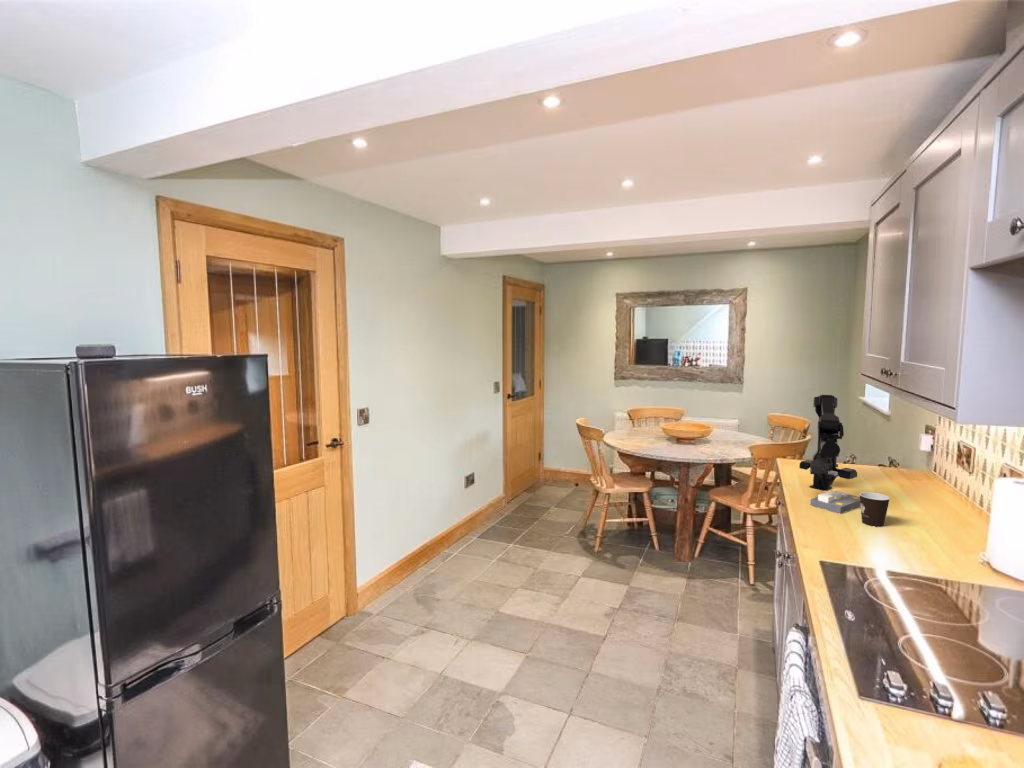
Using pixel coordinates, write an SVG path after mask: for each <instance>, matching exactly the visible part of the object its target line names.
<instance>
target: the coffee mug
mask: <svg viewBox="0 0 1024 768" xmlns="http://www.w3.org/2000/svg"><path fill="white" fill-rule="evenodd" d="M859 497H860V504H861V506H860V513H861V514H860V515H861V522H862V524H864V525H866V526H870V527H873V526H875V527H874V528H882V526H883V527H884V526H885V522H886V518H887V514H888V508H889V503H890V499H891V498H890V496H888V495H886V494H883V493H880V492H879V493H877V492H870V491H863V492H859Z"/></svg>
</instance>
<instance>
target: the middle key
mask: <svg viewBox="0 0 1024 768" xmlns="http://www.w3.org/2000/svg"><path fill="white" fill-rule="evenodd" d="M835 491H836V490H828V491H825V492H826V493H825V494H829V495H832V496H834V500H839V499H842V493H839V492H835Z"/></svg>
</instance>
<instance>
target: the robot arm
mask: <svg viewBox="0 0 1024 768" xmlns="http://www.w3.org/2000/svg"><path fill="white" fill-rule="evenodd" d="M812 400H813V404H812V405H813V408H814V412H815V413H816V414H817V416H818V421H817V450H816V451H815V453H814V454H813V455H812V459H804V460H801V461H800V462H799V465H798V466H799V469H801V470H809V473H810V475H813V478H812V479H813V480H812V484H810V485H809V488H812V489H816V490H819V491H825V492H829V491H830V489H833V486H832V484H833V483H834V481H835V480H836V478H838V477H839V478H841V479H846V480H851V479H855V478H857V477H858V472H857V470H856V469H854V468H850V467H843V468H839V464H837V459H838V457H839V455H840V453H841V448H840V445H839V443H838V441H839V440H843V438H844V434H845V433H844V425H843V423H842V422H841V421H840V417H839V416H838V415H836V414H835V412H836V409H837V408H838V397H835V395H832V394H820V395H818V396H814V397H813V399H812Z"/></svg>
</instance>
